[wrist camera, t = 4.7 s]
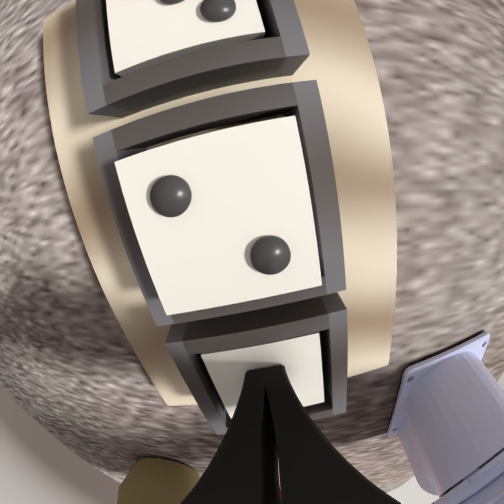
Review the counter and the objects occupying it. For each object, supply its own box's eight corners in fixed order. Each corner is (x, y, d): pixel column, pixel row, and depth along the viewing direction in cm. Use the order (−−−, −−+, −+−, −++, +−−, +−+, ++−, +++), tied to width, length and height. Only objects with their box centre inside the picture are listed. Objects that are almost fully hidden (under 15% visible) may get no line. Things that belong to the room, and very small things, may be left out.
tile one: (315, 369, 12) (325, 404, 10) (231, 385, 12) (230, 421, 10) (307, 300, 11) (320, 335, 9) (206, 320, 11) (200, 357, 9)
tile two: (305, 253, 9) (323, 288, 7) (180, 279, 9) (165, 318, 7) (281, 121, 7) (296, 115, 5) (143, 155, 7) (111, 162, 5)
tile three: (259, 53, 7) (265, 29, 5) (139, 84, 7) (112, 72, 5) (235, -33, 6) (234, -65, 4) (125, -3, 6) (102, -27, 4)
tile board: (378, 347, 14) (406, 398, 10) (172, 386, 15) (160, 442, 11) (319, -40, 7) (346, -87, 3) (60, 28, 7) (9, 6, 3)
